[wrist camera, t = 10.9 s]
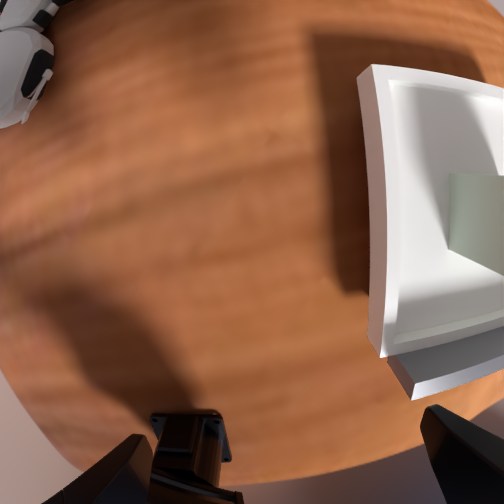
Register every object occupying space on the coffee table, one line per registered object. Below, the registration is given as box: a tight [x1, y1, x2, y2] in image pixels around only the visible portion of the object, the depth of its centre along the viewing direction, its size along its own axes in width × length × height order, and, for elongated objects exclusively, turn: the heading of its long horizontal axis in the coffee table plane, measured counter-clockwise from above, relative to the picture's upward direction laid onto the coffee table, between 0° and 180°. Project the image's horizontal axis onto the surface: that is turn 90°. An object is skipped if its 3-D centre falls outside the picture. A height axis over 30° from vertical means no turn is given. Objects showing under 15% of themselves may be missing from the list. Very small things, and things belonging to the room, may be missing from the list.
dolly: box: [356, 64, 504, 400], centre depth 15 cm, size 17×14×8 cm
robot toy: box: [0, 0, 73, 129], centre depth 14 cm, size 12×4×15 cm
